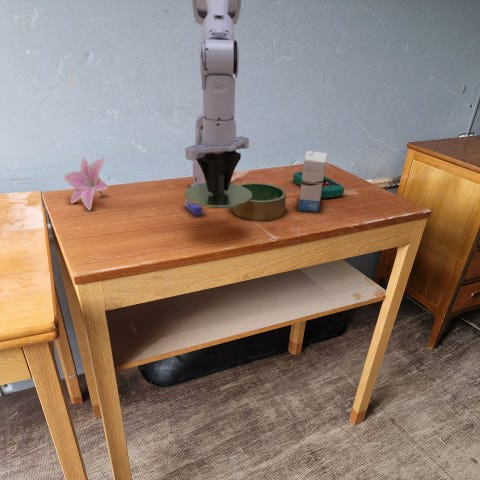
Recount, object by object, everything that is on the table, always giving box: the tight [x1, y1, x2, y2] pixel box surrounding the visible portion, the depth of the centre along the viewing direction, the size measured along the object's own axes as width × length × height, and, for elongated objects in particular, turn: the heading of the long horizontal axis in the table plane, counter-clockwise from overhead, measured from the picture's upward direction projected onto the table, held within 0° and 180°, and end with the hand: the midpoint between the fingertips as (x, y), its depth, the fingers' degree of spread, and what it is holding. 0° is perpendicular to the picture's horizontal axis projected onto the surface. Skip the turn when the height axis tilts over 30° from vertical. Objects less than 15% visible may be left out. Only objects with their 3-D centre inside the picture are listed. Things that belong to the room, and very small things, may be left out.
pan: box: [231, 182, 287, 221], centre depth 103 cm, size 12×12×4 cm
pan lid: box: [184, 172, 252, 209], centre depth 88 cm, size 14×14×5 cm
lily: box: [63, 156, 109, 211], centre depth 103 cm, size 12×12×10 cm
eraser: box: [184, 199, 203, 217], centre depth 101 cm, size 2×6×2 cm, turn 25°
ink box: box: [297, 150, 328, 213], centre depth 104 cm, size 8×5×12 cm, turn 168°
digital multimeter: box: [292, 170, 345, 200], centre depth 117 cm, size 7×15×3 cm, turn 23°
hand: (218, 190), depth 88 cm, fingers closed on pan lid, 2 cm apart
